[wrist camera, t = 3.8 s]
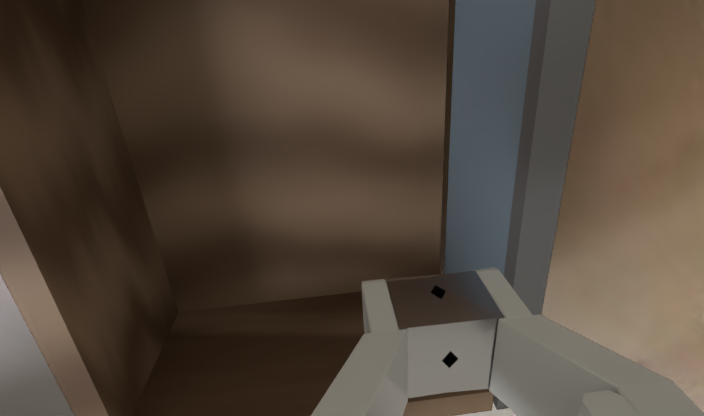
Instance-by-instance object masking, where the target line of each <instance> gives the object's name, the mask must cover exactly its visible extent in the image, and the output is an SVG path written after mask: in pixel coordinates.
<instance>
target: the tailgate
mask: <svg viewBox="0 0 704 416" xmlns="http://www.w3.org/2000/svg"><path fill="white" fill-rule="evenodd" d="M595 3H596V0H456V3H455V28H454V52H453V76H452V100H451V124H450V148H449V173H448V197H447V221H446V245H445V269H444V274H448V273H457V272H466V271H472V270H476V269H484V268H491V267H495V268H497V269H499V271H500V272H501V273H502V275H503V276H504V277H505V279H506V280H507V281H508V283H509V284H510V285H511V287H512V288H513V289H514V291H515V292H516V293H517V295H518V296H519V297H520V299H521V300H522V301H523V303H524V304H525V305H526V307H527V308H528V309H529V311H530V312H531V313H532V315H539V314H540V315H541V313H542V307H543V301H544V296H545V290H546V284H547V278H548V273H549V267H550V261H551V256H552V250H553V244H554V238H555V233H556V227H557V221H558V215H559V210H560V204H561V198H562V192H563V187H564V181H565V175H566V169H567V164H568V158H569V152H570V146H571V141H572V135H573V129H574V123H575V118H576V112H577V106H578V101H579V95H580V89H581V83H582V78H583V72H584V66H585V60H586V55H587V49H588V43H589V37H590V32H591V26H592V20H593V14H594V9H595ZM493 402H494V404H495V406H496V408H497V410H498V409H506V408H508V407H507V406H506V405H505V404H504V403H503V402H502V401H500V400H499V399H498V398H497V397H496V396H495V395H493Z"/></svg>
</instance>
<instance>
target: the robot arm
mask: <svg viewBox="0 0 704 416" xmlns="http://www.w3.org/2000/svg"><path fill="white" fill-rule="evenodd" d="M361 288H362V304H363V320H364V332H365V334H363V336H362V337H361V339H360V341H359V342H358V344H357V345H356V347H355V348H354V350H353V351H352V353H351V354H350V356H349V358H348V359H347V361H346V362H345V364H344V365H343V367H342V368H341V370H340V371H339V373H338V374H337V376H336V378H335V379H334V381H333V382H332V384H331V385H330V387H329V388H328V390H327V391H326V393H325V395H324V396H323V398H322V399H321V401H320V402H319V404H318V405H317V407H316V408H315V410H314V411H313V413H312V415H311V416H403V413H404V411H405V408H406V405H407V402H408V398H413V397H420V396H427V395H434V394H440V393H447V392H458V391H469V390H480V389H489V391H490V392H491V393H492V394H494V395H495V396H496V397H497V398H498V399H499V400H500V401H502V402H503V403H504V404H505V405H506V406H507V407H508V408H509V409H511V410H512V411H513V412H514V413H515V414H516V415H517V416H704V413H703V412H702V411H701V410H700V409H699V408H698V407H697V406H696V405H695V404H694V403H693V401H692V400H691V399H690V398H689V397H688V396H687V395H686V394H685V393H684V392H683V391H682V390H681V389H680V388H679V387H678V386H677V385H676V384H675V383H674V382H673V381H671V380H669V379H667V378H665V377H663V376H661V375H659V374H657V373H656V372H654V371H652V370H650V369H648V368H646V367H644V366H642V365H640V364H638V363H636V362H634V361H632V360H630V359H628V358H626V357H624V356H622V355H620V354H618V353H616V352H614V351H612V350H610V349H608V348H606V347H604V346H602V345H600V344H598V343H596V342H594V341H592V340H590V339H588V338H586V337H584V336H582V335H580V334H578V333H576V332H574V331H572V330H570V329H568V328H566V327H564V326H562V325H560V324H558V323H556V322H554V321H552V320H550V319H548V318H546V317H544V316H542V315H540V314H539V315H532V313H531V312H530V311H529V309H528V308H527V307H526V305H525V304H524V303H523V301H522V300H521V299H520V297H519V296H518V295H517V293H516V292H515V291H514V289H513V288H512V287H511V285H510V284H509V283H508V281H507V280H506V279H505V277H504V276H503V275H502V273H501V272H500V271H499V269H497V268H495V267H491V268H484V269H476V270H472V271H466V272H457V273H448V274H439V275H430V276H429V275H425V276H413V277H401V278H389V279H385V280H384V279H378V280H368V281H362V285H361Z"/></svg>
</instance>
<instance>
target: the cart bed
mask: <svg viewBox="0 0 704 416" xmlns="http://www.w3.org/2000/svg"><path fill="white" fill-rule="evenodd" d="M448 18H449V0H0V274H1V276H2V278H3V280H4V282H5V284H6V286H7V288H8V290H9V292H10V293H11V295H12V297H13V299H14V301H15V303H16V305H17V307H18V309H19V311H20V313H21V314H22V316H23V318H24V320H25V322H26V324H27V326H28V328H29V330H30V332H31V333H32V335H33V337H34V339H35V341H36V343H37V345H38V347H39V349H40V351H41V352H42V354H43V356H44V358H45V360H46V362H47V364H48V366H49V368H50V370H51V371H52V373H53V375H54V377H55V379H56V381H57V383H58V385H59V387H60V389H61V390H62V392H63V394H64V396H65V398H66V400H67V402H68V404H69V406H70V408H71V409H72V411H73V413H74V415H75V416H311V415H312V413H313V411H314V410H315V408H316V407H317V405H318V404H319V402H320V401H321V399H322V398H323V396H324V395H325V393H326V391H327V390H328V388H329V387H330V385H331V384H332V382H333V381H334V379H335V378H336V376H337V374H338V373H339V371H340V370H341V368H342V367H343V365H344V364H345V362H346V361H347V359H348V358H349V356H350V354H351V353H352V351H353V350H354V348H355V347H356V345H357V344H358V342H359V341H360V339H361V337H362V336H363V334H365V332H364V320H363V304H362V288H361V285H362V281H368V280H378V279H384V280H385V279H389V278H401V277H413V276H425V275H429V276H430V275H439V274H440V245H441V217H442V189H443V160H444V132H445V104H446V75H447V47H448ZM493 395H494V394H492V393H491V392H490V391H489V389H480V390H469V391H458V392H447V393H440V394H434V395H427V396H420V397H413V398H408V402H407V405H406V408H405V411H404V413H403V416H453V415H461V414H468V413H476V412H483V411H491V410H492V404H493Z"/></svg>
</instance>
